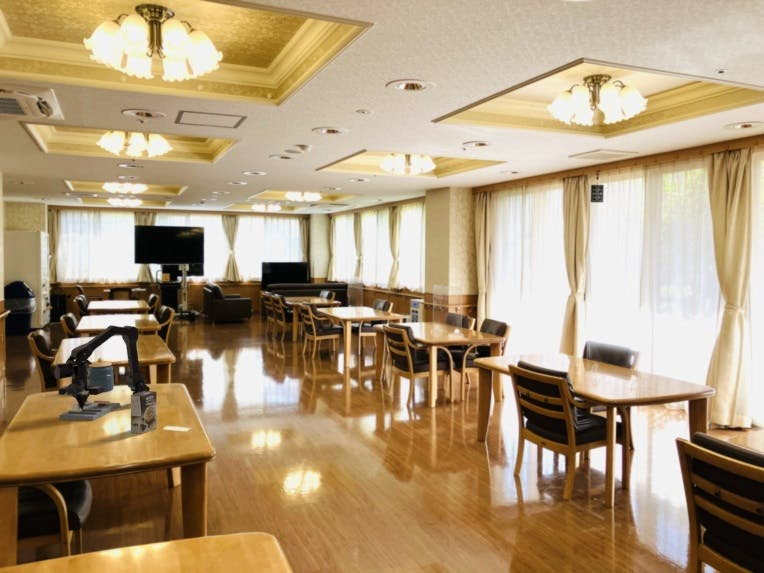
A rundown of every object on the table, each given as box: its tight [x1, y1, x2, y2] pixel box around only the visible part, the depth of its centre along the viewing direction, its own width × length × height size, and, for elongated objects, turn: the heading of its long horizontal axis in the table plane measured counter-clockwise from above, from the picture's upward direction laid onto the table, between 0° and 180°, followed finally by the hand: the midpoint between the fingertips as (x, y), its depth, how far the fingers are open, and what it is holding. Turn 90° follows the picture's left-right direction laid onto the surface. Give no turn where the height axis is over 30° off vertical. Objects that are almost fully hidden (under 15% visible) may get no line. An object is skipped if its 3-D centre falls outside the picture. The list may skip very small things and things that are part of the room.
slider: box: [70, 403, 82, 412], centre depth 271 cm, size 3×3×3 cm
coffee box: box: [130, 390, 158, 435], centre depth 251 cm, size 9×6×16 cm
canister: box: [87, 357, 115, 393], centre depth 320 cm, size 13×13×18 cm
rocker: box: [93, 400, 111, 403], centre depth 282 cm, size 4×7×1 cm, turn 175°
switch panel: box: [58, 401, 121, 422], centre depth 277 cm, size 16×23×3 cm
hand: (82, 408), depth 270 cm, fingers closed
